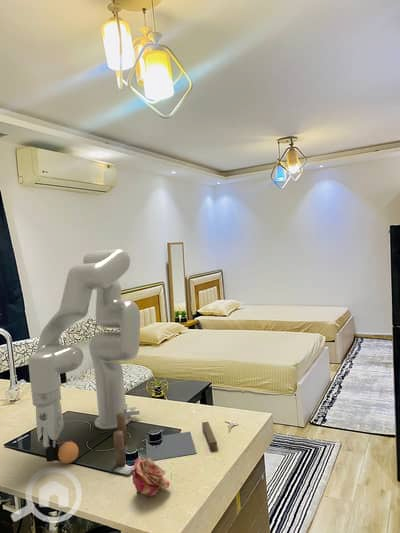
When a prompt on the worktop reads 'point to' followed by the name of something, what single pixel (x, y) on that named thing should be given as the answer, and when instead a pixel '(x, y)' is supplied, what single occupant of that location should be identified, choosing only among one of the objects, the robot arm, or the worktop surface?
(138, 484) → the flower
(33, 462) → the worktop surface
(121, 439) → the near post
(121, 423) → the far post
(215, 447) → the brown wooden bar
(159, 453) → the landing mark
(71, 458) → the ball
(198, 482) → the worktop surface
